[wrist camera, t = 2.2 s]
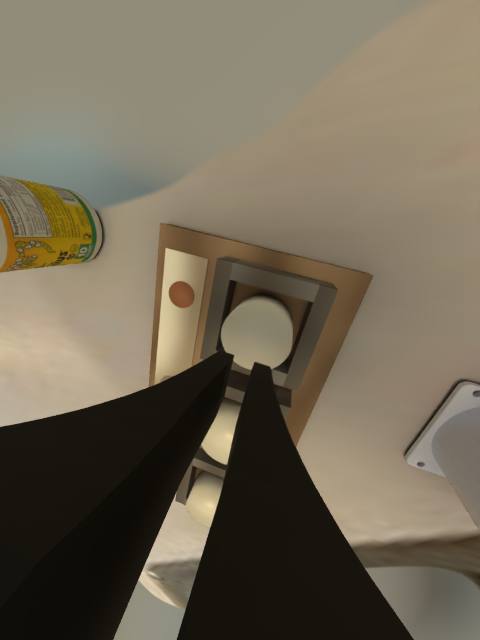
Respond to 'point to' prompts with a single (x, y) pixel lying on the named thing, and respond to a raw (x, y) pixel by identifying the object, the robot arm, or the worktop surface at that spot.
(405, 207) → the worktop surface
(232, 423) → the button middle
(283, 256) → the board
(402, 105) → the worktop surface
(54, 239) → the supplement bottle
